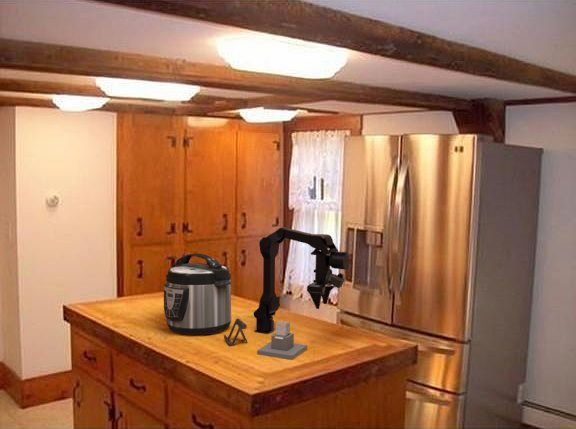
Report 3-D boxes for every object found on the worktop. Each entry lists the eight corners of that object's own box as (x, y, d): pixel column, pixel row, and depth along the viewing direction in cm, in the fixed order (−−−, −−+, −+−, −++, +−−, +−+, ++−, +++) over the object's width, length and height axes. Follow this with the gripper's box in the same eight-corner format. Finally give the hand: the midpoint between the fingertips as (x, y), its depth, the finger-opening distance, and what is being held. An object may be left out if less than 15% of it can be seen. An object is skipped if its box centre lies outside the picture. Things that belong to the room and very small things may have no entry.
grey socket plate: (257, 354, 214) (257, 336, 213) (273, 344, 227) (273, 327, 226) (292, 359, 208) (292, 341, 208) (306, 349, 221) (307, 332, 221)
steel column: (275, 348, 216) (275, 323, 216) (279, 345, 220) (280, 320, 219) (285, 349, 215) (285, 324, 214) (289, 346, 218) (290, 321, 218)
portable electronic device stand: (223, 340, 231) (223, 319, 231) (242, 338, 234) (243, 317, 233) (229, 346, 223) (229, 324, 222) (249, 344, 226) (249, 323, 225)
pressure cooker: (160, 321, 258) (160, 249, 255) (223, 317, 266) (224, 248, 264) (167, 340, 229) (167, 260, 227) (237, 335, 238) (238, 258, 235)
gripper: (335, 272, 217) (333, 314, 218) (349, 265, 234) (348, 303, 235) (306, 269, 221) (305, 310, 222) (323, 262, 238) (321, 300, 239)
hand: (321, 306), depth 230 cm, fingers open, 9 cm apart
